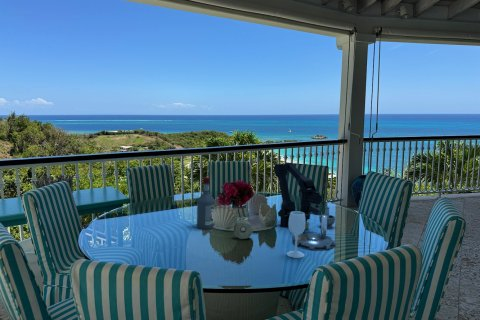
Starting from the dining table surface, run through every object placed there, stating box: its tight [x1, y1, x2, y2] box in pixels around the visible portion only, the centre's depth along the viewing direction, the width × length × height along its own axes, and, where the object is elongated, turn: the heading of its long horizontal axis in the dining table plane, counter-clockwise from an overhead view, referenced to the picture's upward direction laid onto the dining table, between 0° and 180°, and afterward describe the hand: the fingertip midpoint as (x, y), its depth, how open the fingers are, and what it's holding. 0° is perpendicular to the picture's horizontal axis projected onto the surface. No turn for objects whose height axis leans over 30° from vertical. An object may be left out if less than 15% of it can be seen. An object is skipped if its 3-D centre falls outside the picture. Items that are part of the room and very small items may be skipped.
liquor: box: [196, 176, 216, 230], centre depth 225 cm, size 9×9×30 cm
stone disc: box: [233, 219, 254, 240], centre depth 207 cm, size 10×4×10 cm, turn 86°
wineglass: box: [286, 210, 306, 259], centre depth 183 cm, size 9×9×21 cm
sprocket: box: [291, 214, 336, 250], centre depth 202 cm, size 23×23×14 cm
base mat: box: [291, 240, 336, 252], centre depth 203 cm, size 22×22×1 cm
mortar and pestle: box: [318, 206, 336, 230], centre depth 235 cm, size 11×9×12 cm
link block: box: [304, 221, 310, 231], centre depth 220 cm, size 5×4×4 cm
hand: (304, 227), depth 220 cm, fingers closed on link block, 4 cm apart
